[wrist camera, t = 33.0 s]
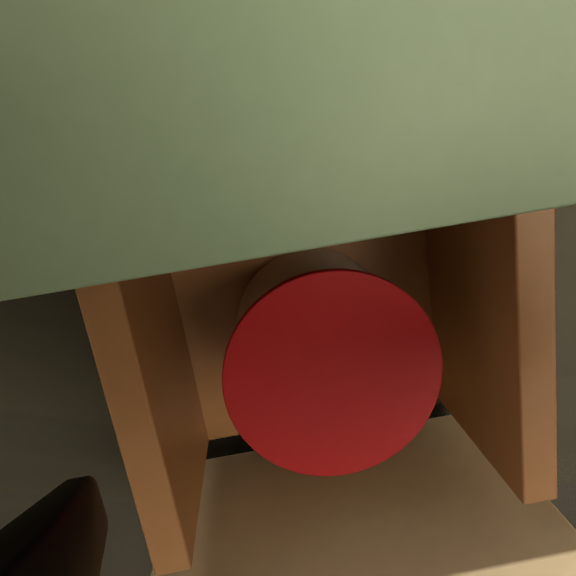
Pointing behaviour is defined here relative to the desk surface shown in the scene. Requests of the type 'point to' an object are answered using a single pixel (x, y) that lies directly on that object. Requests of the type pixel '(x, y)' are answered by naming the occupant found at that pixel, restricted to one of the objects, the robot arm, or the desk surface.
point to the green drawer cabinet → (269, 128)
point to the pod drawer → (375, 480)
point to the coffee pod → (329, 365)
